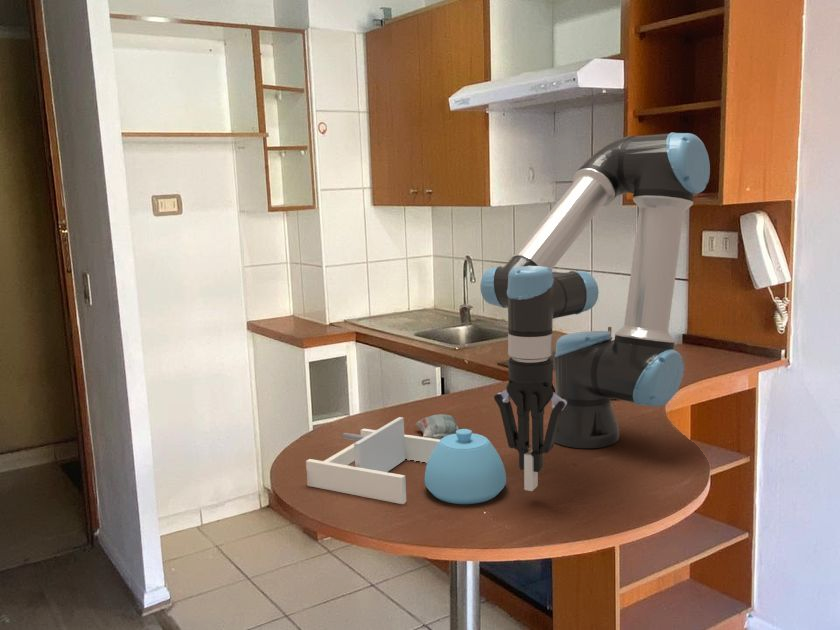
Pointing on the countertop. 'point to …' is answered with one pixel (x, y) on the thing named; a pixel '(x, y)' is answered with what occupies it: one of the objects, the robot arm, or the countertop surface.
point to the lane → (367, 472)
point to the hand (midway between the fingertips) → (531, 487)
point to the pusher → (380, 447)
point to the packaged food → (438, 426)
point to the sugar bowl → (465, 469)
